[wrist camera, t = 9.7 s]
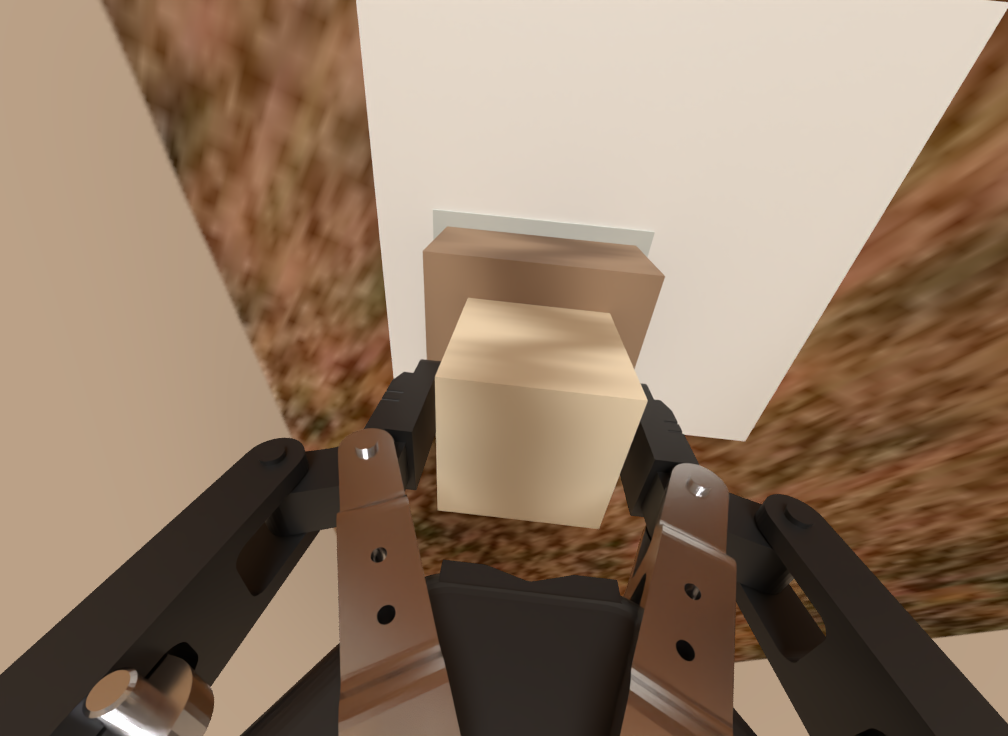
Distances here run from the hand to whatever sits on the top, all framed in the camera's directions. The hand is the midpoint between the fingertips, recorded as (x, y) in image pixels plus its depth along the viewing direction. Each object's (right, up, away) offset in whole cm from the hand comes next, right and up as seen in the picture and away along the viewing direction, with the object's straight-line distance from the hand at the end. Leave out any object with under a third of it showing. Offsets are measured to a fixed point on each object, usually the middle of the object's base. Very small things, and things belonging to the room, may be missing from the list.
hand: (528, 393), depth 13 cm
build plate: (+4, +6, +4) cm, 8 cm away
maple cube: (0, +1, +1) cm, 2 cm away
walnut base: (0, +3, +5) cm, 6 cm away
